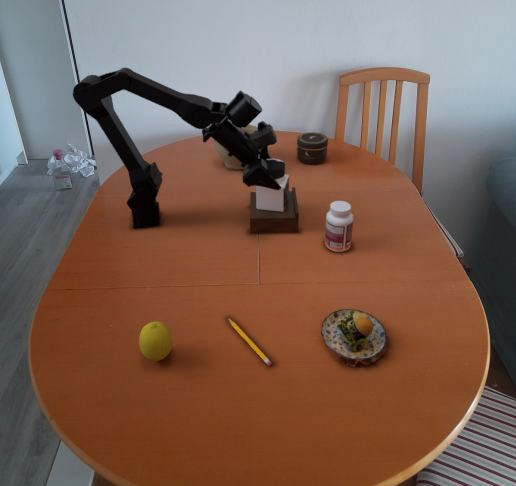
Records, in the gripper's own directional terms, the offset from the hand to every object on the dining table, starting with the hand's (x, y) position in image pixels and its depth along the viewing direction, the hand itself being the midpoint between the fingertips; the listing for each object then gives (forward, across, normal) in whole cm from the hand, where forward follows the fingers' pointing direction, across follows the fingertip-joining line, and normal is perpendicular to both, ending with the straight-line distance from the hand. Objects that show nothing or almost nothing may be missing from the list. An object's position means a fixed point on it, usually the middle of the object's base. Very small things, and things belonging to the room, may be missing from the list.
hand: (279, 179), depth 111 cm
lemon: (-8, -44, +25) cm, 51 cm away
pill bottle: (+18, -12, -1) cm, 22 cm away
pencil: (+3, -40, +14) cm, 43 cm away
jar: (+17, +36, 0) cm, 39 cm away
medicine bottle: (+4, 0, +6) cm, 7 cm away
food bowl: (+17, -40, 0) cm, 44 cm away
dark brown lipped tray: (+7, 0, +9) cm, 12 cm away
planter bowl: (0, +33, +16) cm, 37 cm away
